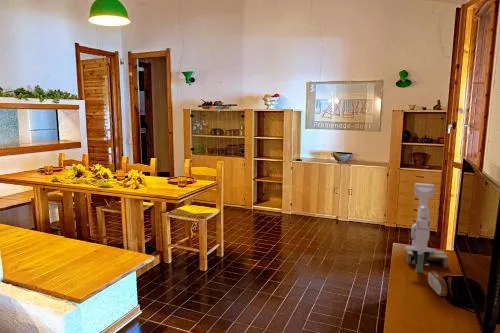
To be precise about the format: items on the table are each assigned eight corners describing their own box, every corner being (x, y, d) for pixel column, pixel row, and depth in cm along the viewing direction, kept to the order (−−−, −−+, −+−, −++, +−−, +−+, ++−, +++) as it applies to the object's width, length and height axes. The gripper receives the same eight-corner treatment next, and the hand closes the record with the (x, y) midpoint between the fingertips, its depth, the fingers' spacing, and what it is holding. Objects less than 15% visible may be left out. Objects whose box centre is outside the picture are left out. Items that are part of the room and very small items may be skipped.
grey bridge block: (405, 257, 216) (405, 247, 214) (442, 260, 211) (443, 250, 210) (407, 264, 207) (408, 253, 206) (446, 267, 202) (447, 257, 201)
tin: (447, 299, 171) (448, 282, 169) (440, 299, 171) (441, 282, 169) (432, 283, 186) (433, 267, 184) (425, 283, 186) (427, 267, 184)
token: (421, 262, 209) (421, 260, 209) (428, 263, 208) (429, 261, 208) (422, 265, 206) (422, 264, 205) (430, 266, 205) (430, 264, 204)
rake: (411, 263, 208) (413, 246, 206) (419, 264, 207) (420, 247, 205) (415, 272, 197) (416, 254, 195) (423, 272, 196) (425, 255, 195)
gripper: (408, 242, 193) (406, 266, 195) (438, 244, 189) (436, 269, 192) (406, 237, 200) (404, 260, 202) (435, 239, 196) (433, 263, 199)
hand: (419, 264), depth 198 cm, fingers closed on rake, 3 cm apart
